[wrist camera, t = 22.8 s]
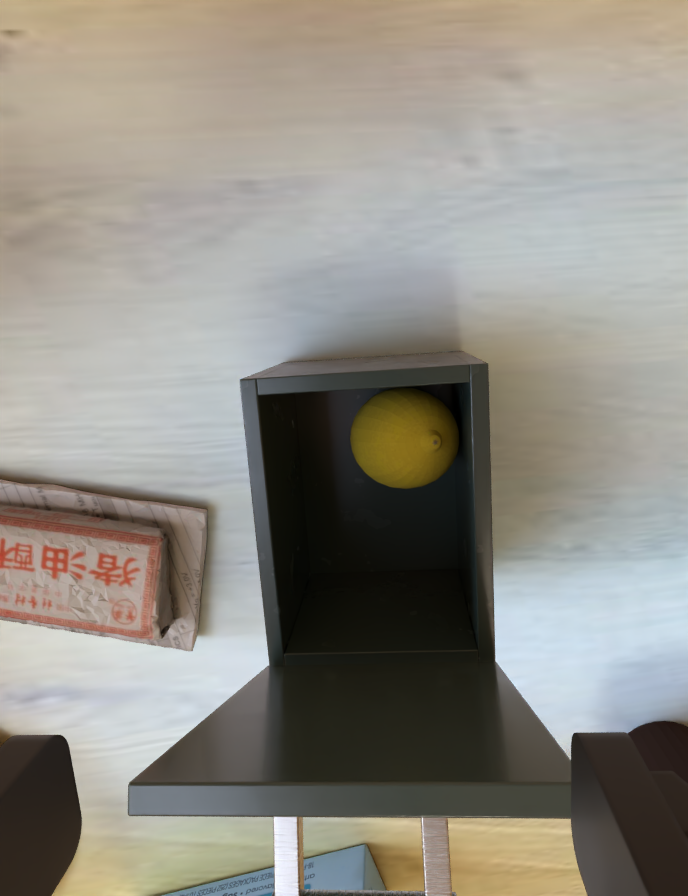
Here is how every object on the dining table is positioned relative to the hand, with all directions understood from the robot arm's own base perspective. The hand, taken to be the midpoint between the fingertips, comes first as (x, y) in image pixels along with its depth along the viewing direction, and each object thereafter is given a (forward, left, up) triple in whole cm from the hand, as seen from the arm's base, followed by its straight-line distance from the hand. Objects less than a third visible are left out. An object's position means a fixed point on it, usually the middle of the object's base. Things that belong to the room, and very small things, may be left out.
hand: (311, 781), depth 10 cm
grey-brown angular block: (-21, -8, -30) cm, 38 cm away
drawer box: (0, -2, -30) cm, 30 cm away
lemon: (0, 0, -29) cm, 29 cm away
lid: (0, -7, -12) cm, 14 cm away
